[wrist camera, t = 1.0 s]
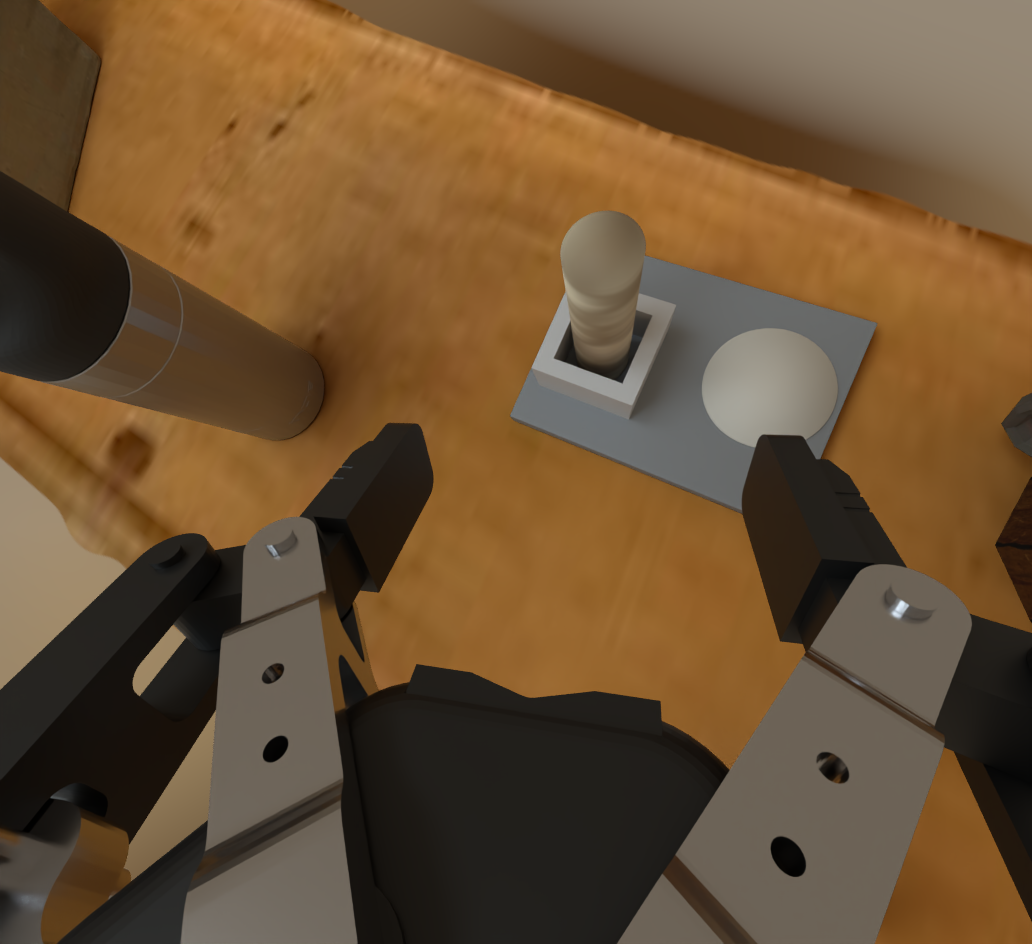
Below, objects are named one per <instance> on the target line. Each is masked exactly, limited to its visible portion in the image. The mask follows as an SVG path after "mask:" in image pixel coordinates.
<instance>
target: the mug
mask: <svg viewBox="0 0 1032 944" xmlns="http://www.w3.org/2000/svg"><path fill="white" fill-rule="evenodd" d="M1001 424H1002V426H1003V427H1004V429H1005V431H1006V433H1007V434H1008V436H1009V438H1010V440H1011V441H1012V443H1013V445H1014V446H1015V447H1016V448H1018V449H1020V450H1021V451H1023V452H1024V453H1026V454H1028V455H1029V456H1031V457H1032V393H1030V394H1028V395H1026V396H1024V397H1022V399H1021V400H1020V401H1019V402H1018V404H1017V405H1016V406H1015V407H1014V408H1013V410H1012V411H1011V412H1010V413H1009V415H1008V416H1007V417H1006V418H1005V419H1004V421H1003V422H1002V423H1001ZM995 546H996V548H997V550H998V552H999V554H1000V556H1001V559H1002V561H1003V563H1004V565H1005V567H1006V569H1007V572H1008V574H1009V576H1010V578H1011V580H1012V582H1013V585H1014V587H1015V589H1016V591H1017V593H1018V595H1019V597H1020V600H1021V602H1022V604H1023V606H1024V608H1025V610H1026V613H1027V615H1028V617H1029V619H1030V621H1031V622H1032V477H1031V478H1030V480H1029V482H1028V484H1027V486H1026V488H1025V489H1024V491H1023V493H1022V495H1021V497H1020V499H1019V501H1018V503H1017V505H1016V506H1015V508H1014V510H1013V512H1012V514H1011V516H1010V518H1009V520H1008V521H1007V523H1006V525H1005V527H1004V529H1003V531H1002V533H1001V535H1000V537H999V538H998V540H997V542H996V544H995Z"/></svg>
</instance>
